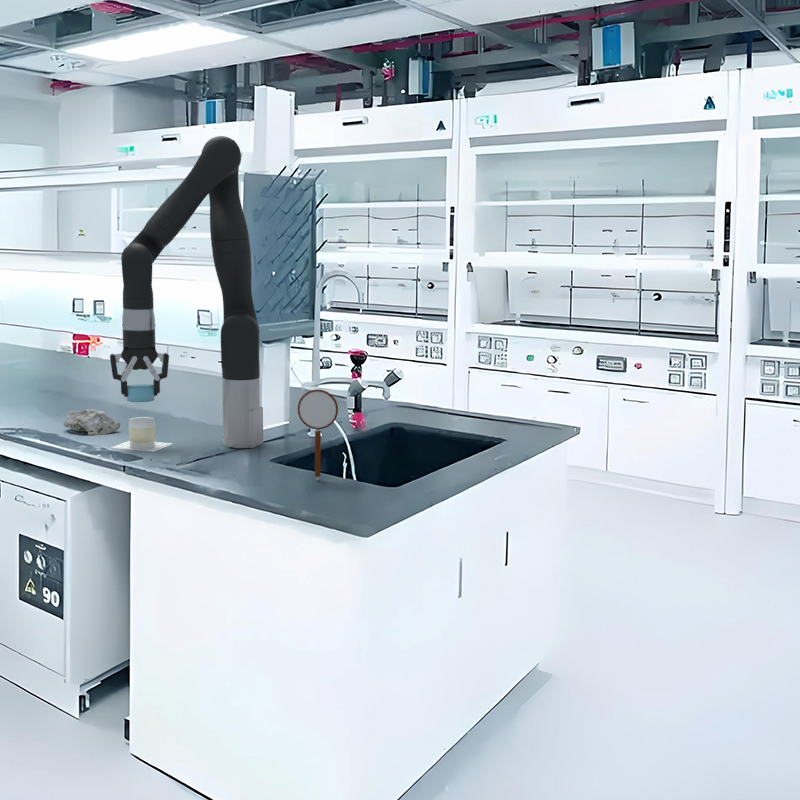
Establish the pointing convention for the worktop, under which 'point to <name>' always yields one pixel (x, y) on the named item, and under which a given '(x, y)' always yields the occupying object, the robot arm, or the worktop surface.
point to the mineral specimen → (91, 422)
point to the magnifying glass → (317, 417)
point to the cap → (140, 393)
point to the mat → (127, 446)
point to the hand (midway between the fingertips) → (140, 395)
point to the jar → (142, 433)
